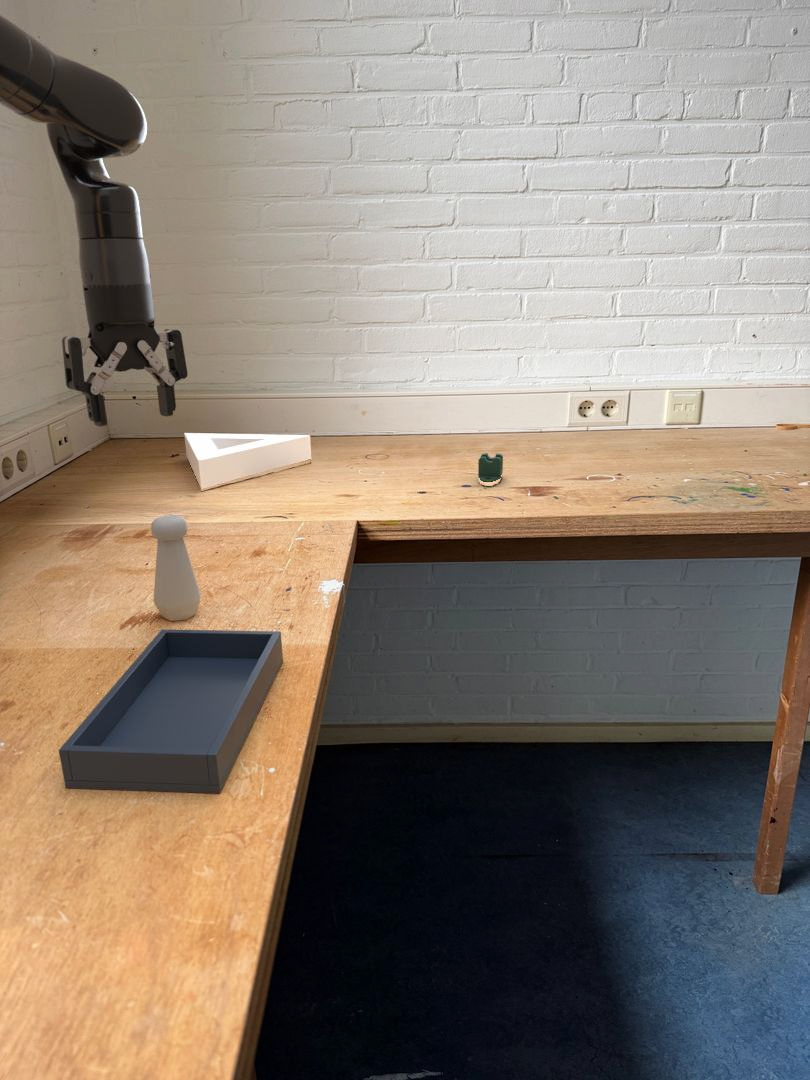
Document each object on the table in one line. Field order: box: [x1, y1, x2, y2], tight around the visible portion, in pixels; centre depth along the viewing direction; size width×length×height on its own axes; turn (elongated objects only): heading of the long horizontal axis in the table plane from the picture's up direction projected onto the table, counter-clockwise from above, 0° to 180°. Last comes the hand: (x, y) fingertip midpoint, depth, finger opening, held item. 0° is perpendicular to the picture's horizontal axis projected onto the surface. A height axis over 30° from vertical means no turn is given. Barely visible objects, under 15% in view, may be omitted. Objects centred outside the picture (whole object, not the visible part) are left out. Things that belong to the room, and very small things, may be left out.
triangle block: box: [183, 432, 312, 490], centre depth 169 cm, size 30×26×6 cm
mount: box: [477, 452, 504, 482], centre depth 162 cm, size 11×4×5 cm, turn 167°
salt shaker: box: [150, 514, 202, 622], centre depth 100 cm, size 6×6×13 cm
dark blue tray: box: [58, 628, 284, 794], centre depth 78 cm, size 14×24×4 cm, turn 175°
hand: (134, 420), depth 98 cm, fingers open, 8 cm apart
